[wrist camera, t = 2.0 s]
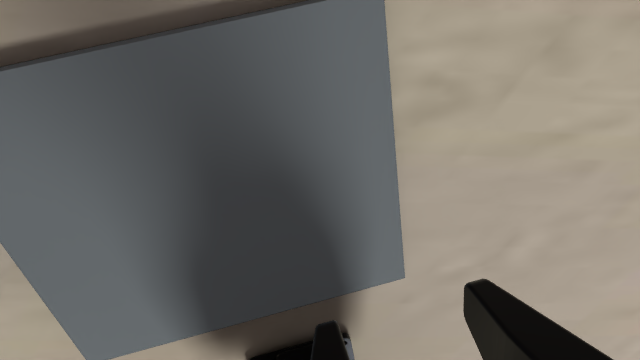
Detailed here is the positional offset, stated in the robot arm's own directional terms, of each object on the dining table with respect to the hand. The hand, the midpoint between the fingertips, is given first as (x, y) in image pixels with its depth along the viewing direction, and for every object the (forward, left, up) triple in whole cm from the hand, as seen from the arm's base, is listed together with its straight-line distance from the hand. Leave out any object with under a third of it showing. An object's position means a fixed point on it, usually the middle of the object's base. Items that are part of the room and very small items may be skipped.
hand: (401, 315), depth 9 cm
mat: (-5, +5, -13) cm, 15 cm away
